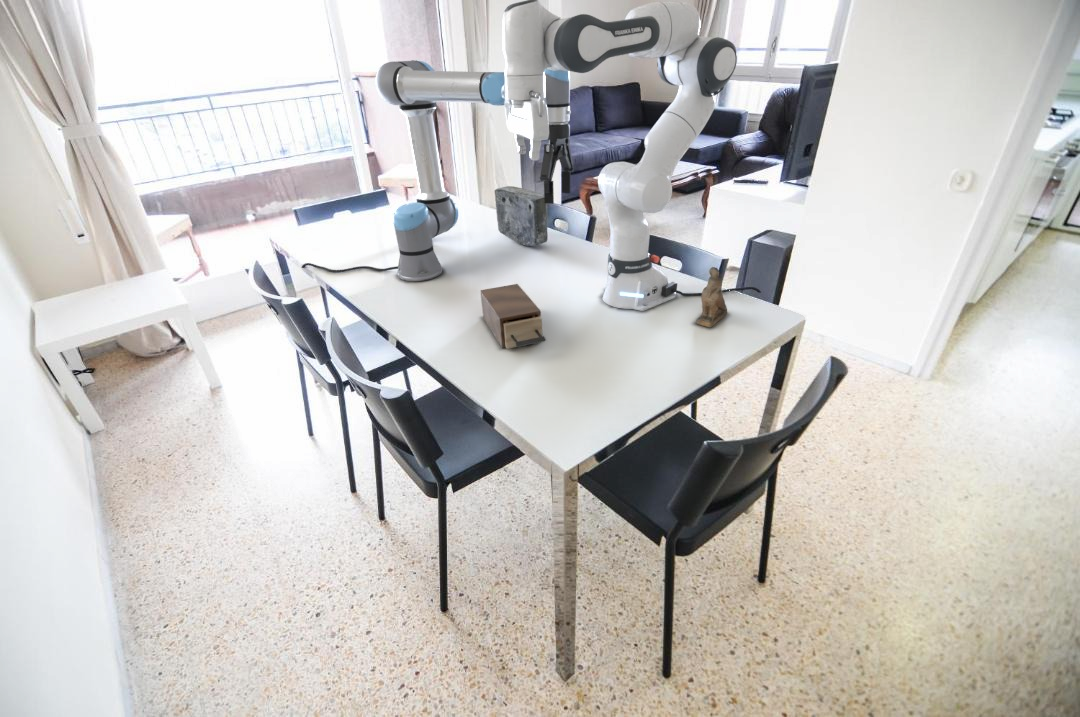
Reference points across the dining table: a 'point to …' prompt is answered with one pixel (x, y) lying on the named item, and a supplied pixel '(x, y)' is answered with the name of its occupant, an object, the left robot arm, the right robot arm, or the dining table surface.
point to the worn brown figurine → (712, 301)
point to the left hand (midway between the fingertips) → (557, 198)
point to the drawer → (523, 331)
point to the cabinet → (505, 308)
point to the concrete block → (521, 215)
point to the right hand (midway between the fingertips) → (528, 156)
